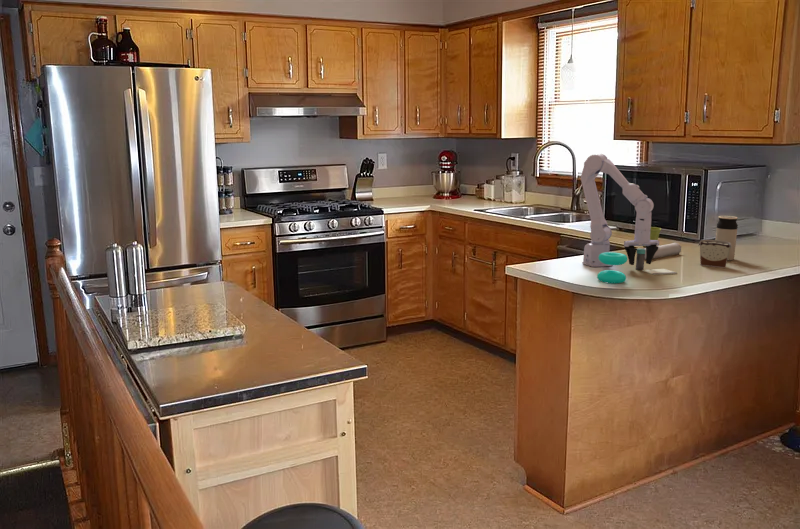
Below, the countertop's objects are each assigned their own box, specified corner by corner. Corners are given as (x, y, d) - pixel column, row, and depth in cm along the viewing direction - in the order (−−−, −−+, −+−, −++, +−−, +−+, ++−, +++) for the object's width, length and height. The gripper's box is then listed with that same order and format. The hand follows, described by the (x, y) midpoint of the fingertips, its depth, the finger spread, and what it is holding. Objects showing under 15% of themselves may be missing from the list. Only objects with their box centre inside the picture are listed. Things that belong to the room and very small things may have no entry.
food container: (731, 265, 290) (733, 241, 288) (729, 268, 284) (732, 243, 282) (698, 262, 296) (701, 238, 294) (696, 264, 290) (698, 240, 288)
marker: (638, 270, 278) (640, 250, 276) (633, 268, 281) (635, 248, 280) (645, 269, 279) (647, 249, 277) (640, 268, 282) (642, 248, 280)
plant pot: (657, 245, 337) (659, 226, 335) (662, 248, 328) (663, 229, 326) (637, 244, 338) (638, 226, 337) (640, 247, 329) (642, 229, 327)
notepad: (654, 275, 269) (654, 273, 269) (641, 270, 277) (642, 269, 277) (677, 273, 272) (677, 272, 272) (664, 269, 280) (664, 268, 280)
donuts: (600, 250, 263) (628, 252, 259) (598, 277, 265) (626, 279, 261) (597, 255, 253) (626, 257, 250) (595, 282, 255) (624, 285, 252)
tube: (649, 252, 297) (683, 245, 312) (639, 246, 300) (673, 240, 315) (645, 263, 299) (678, 256, 314) (635, 257, 303) (668, 251, 318)
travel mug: (735, 261, 299) (739, 218, 296) (714, 259, 302) (718, 217, 298) (732, 257, 307) (737, 216, 303) (712, 256, 309) (716, 215, 306)
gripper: (632, 231, 271) (629, 266, 274) (665, 230, 275) (662, 265, 278) (621, 229, 278) (619, 263, 280) (654, 228, 282) (651, 261, 284)
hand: (640, 264), depth 280 cm, fingers open, 7 cm apart
